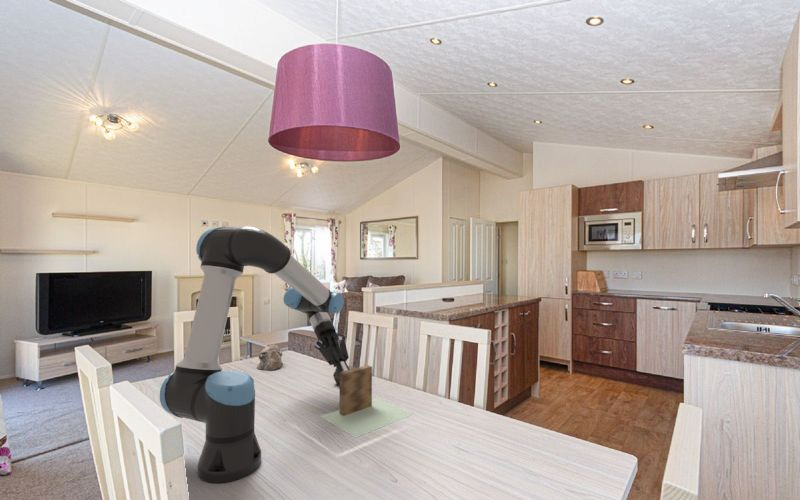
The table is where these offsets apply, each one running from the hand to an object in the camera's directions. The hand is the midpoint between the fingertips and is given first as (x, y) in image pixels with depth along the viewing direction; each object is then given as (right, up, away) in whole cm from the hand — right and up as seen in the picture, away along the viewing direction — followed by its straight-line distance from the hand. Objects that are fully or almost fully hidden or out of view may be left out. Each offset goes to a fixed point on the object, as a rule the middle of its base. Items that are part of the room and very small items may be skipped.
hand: (347, 379), depth 139 cm
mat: (+8, -10, -9) cm, 16 cm away
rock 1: (-44, -10, +47) cm, 65 cm away
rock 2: (-1, -10, +23) cm, 25 cm away
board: (+3, -9, -5) cm, 11 cm away
